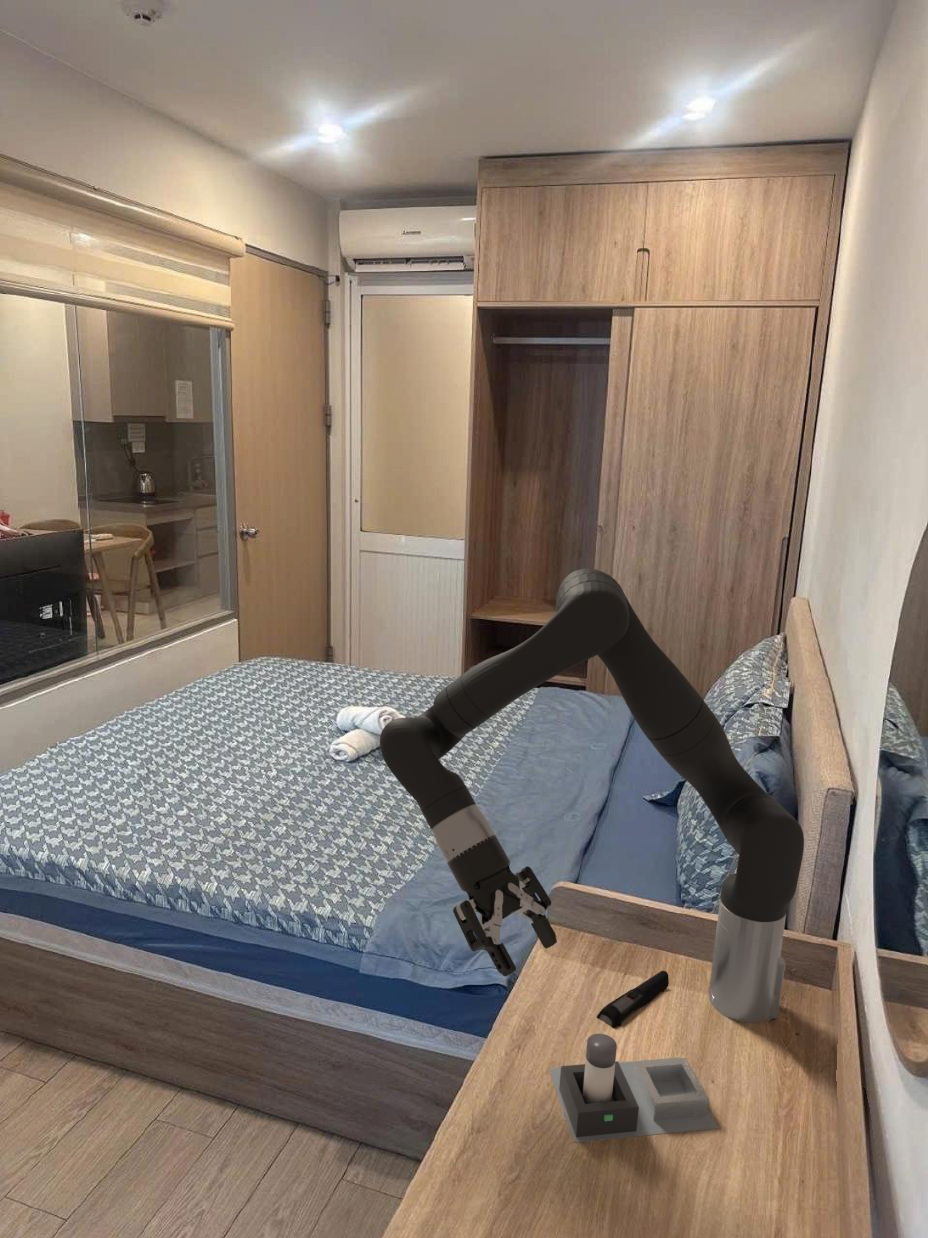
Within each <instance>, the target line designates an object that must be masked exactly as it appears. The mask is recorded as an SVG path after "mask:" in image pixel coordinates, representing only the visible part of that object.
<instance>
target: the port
mask: <svg viewBox="0 0 928 1238" xmlns="http://www.w3.org/2000/svg"><path fill="white" fill-rule="evenodd" d="M619 1063H620V1062H619V1061H618V1060H617V1061H616V1060H615V1071H614V1082H613V1092H612V1098H613V1102H602V1103H592V1104H585V1103H584V1101H583V1098H582V1095H583V1085H584V1073H585V1063H584V1064H583V1063H582V1064H581V1063H580V1064H572V1065H561V1066H560V1068H561V1073H560V1086H559V1090H560V1093H561V1096H562V1099H563V1102H564V1104H565V1107H566V1110H567V1113H568V1116H569V1119H570V1122H571V1124H572V1127H573V1130H574V1133H575V1136H576V1137H584V1136H594V1135H604V1134H614V1133H624V1132H634V1131H636V1130H637V1120H638V1111H639V1106H638V1104H637V1102H636V1100H635V1097H634V1095H633V1093H632V1091H631V1089H630V1087H629V1084H628V1082H627V1080H626V1078H625V1076H624V1073H623V1071H622V1069H621V1067H620V1065H619Z"/></svg>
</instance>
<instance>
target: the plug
mask: <svg viewBox="0 0 928 1238" xmlns="http://www.w3.org/2000/svg"><path fill="white" fill-rule="evenodd" d="M617 1047H618V1045H617V1041H616V1040H615V1039H614V1038H613V1037H612V1036H610V1035H608V1034H604V1033H594V1034H592V1035H590V1036H588V1038H587V1039H586V1050H585V1051H586V1052H585V1060H584V1061H585V1063H584V1064H585V1073H584V1085H583V1097H582V1098H583V1101H584V1103H585V1104H592V1103H602V1102H612V1092H613V1082H614V1071H615V1062H616V1058H617V1049H618V1048H617Z"/></svg>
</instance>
